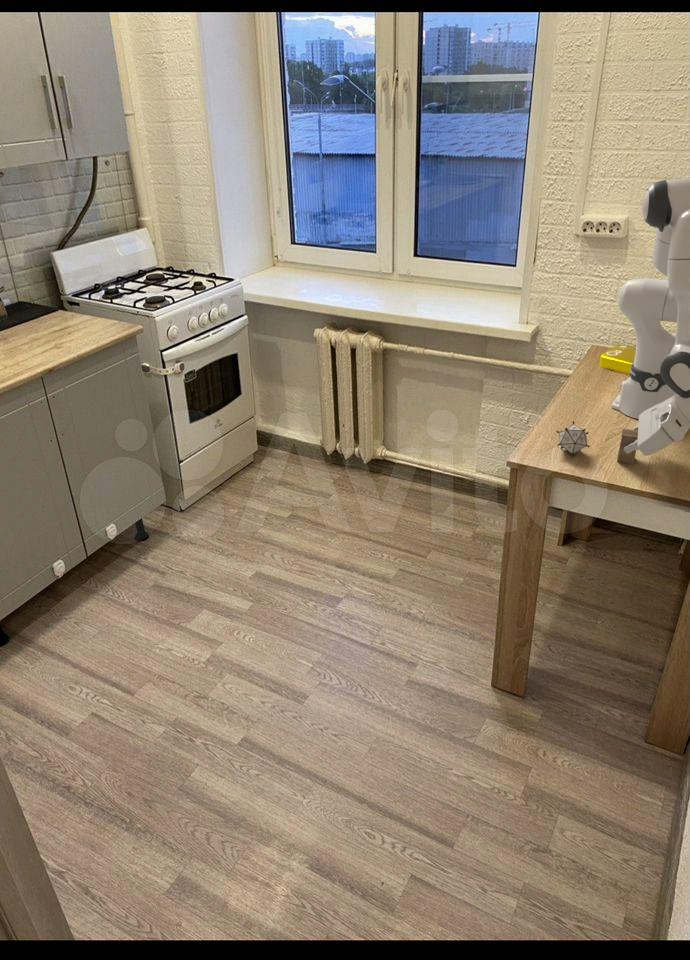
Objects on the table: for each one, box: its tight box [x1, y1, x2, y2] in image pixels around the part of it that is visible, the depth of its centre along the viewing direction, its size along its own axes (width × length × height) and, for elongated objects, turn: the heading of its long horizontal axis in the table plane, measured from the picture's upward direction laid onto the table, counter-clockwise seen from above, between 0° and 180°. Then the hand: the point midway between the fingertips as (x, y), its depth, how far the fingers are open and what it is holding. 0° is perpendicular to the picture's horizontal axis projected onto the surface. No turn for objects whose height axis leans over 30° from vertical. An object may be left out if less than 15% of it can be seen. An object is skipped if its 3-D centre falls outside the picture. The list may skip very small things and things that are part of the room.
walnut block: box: [616, 428, 638, 465], centre depth 186 cm, size 4×4×8 cm
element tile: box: [598, 344, 636, 376], centre depth 243 cm, size 15×15×5 cm
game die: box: [556, 420, 591, 458], centre depth 190 cm, size 9×8×10 cm
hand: (625, 444), depth 186 cm, fingers open, 5 cm apart
